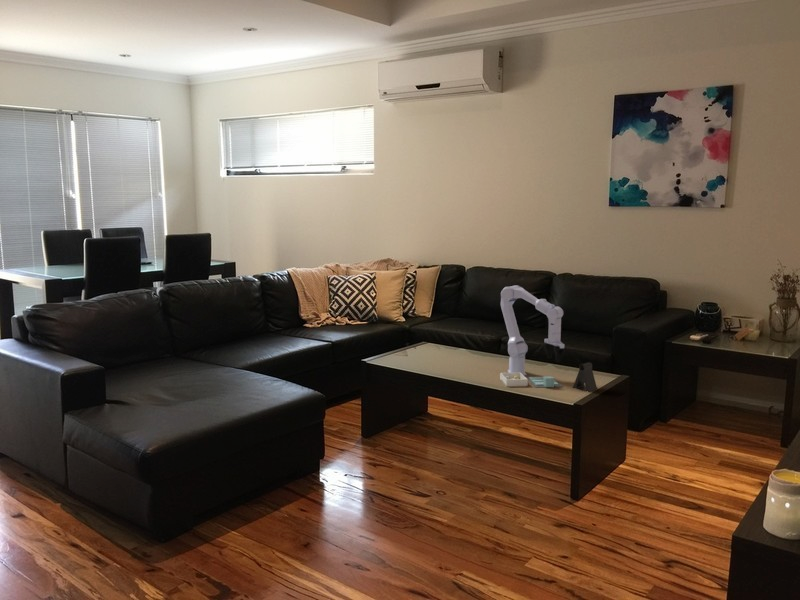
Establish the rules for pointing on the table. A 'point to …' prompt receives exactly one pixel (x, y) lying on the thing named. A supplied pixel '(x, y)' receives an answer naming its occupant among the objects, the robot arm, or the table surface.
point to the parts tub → (513, 379)
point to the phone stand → (585, 378)
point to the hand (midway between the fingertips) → (553, 360)
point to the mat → (542, 385)
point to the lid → (544, 381)
